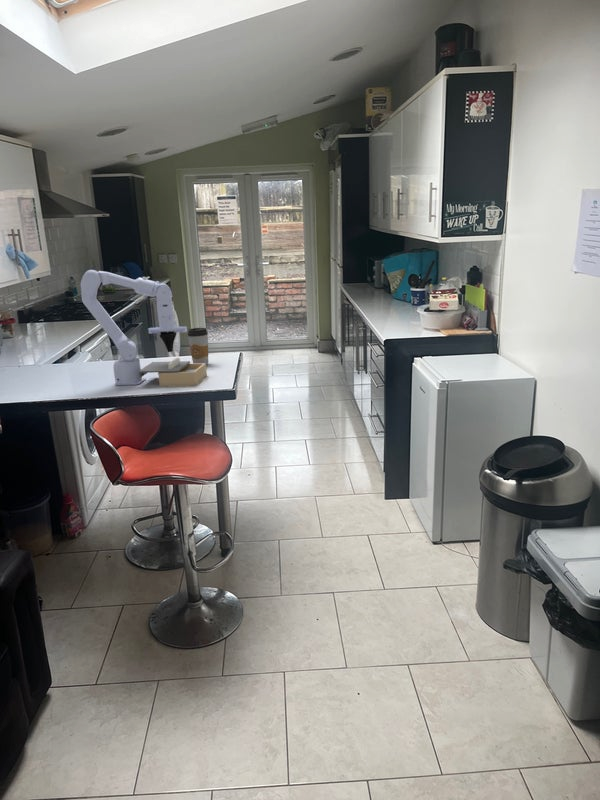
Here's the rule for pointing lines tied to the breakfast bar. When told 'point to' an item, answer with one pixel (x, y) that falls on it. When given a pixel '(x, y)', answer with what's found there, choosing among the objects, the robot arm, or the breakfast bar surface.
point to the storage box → (184, 376)
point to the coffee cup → (198, 345)
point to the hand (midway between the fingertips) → (170, 351)
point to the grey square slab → (163, 367)
